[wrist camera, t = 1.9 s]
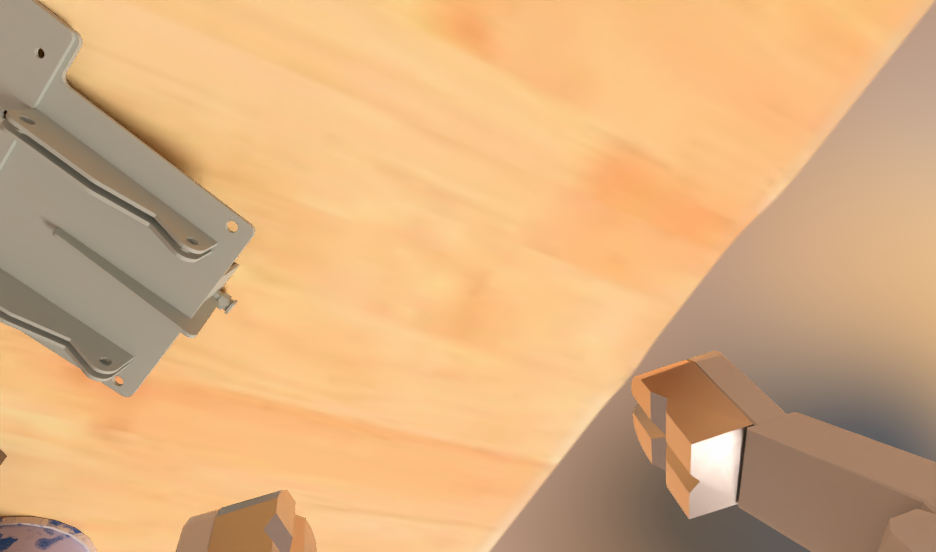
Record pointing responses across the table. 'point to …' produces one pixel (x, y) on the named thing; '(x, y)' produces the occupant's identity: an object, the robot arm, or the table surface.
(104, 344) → the metal bracket
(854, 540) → the robot arm
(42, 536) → the aerosol can
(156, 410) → the table surface
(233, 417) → the table surface
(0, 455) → the steel u-shaped frame
